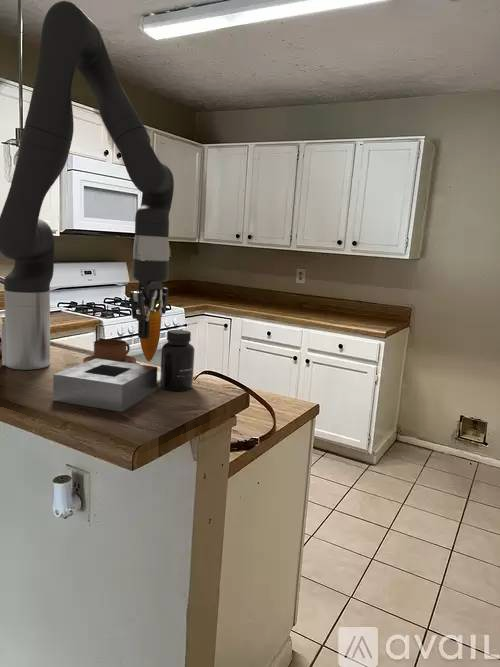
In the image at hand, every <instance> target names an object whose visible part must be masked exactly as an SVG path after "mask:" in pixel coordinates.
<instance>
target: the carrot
mask: <svg viewBox="0 0 500 667" xmlns="http://www.w3.org/2000/svg"><path fill="white" fill-rule="evenodd" d="M159 303H161V300H158V301H156V302H155V304H154V308H153V311H151V312H150V318H149V337H148V338H147V339H143V338H139V342H140V347H141V351H142V353H143V355H144V358H145V360H146V361H147V362H148V363H150V362H151V361H152V360H153V358H154V356H155V355H156V352H157V350H158V345H159V342H160V337H161V330H162V328H161V327H162V317H161V315H160V314H159V313H158V312H157V311H154V309H155V307H156V306H157V305H158V304H159ZM147 306H149V305H147ZM145 314H146V311H145Z"/></svg>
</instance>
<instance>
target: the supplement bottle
mask: <svg viewBox="0 0 500 667" xmlns="http://www.w3.org/2000/svg"><path fill="white" fill-rule="evenodd" d="M191 336H192V333H191V331H190V330H189V331H188V330H186V329H185V330H184V329H169V330H167V336H166V341H167V342H165V343H164V344H163V345H162V347H161V354H160V355H161V356H160V357H161V358H160V360H161V361H160V372H161V374H160V382H159V384H160V387H161V389H163V390H166V391H170V392H184V391H188V390H190V389H191V388H192V387H193V382H194V367H195V347H194V346H193V344H191V343H190V342H191V341H192V337H191Z"/></svg>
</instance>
